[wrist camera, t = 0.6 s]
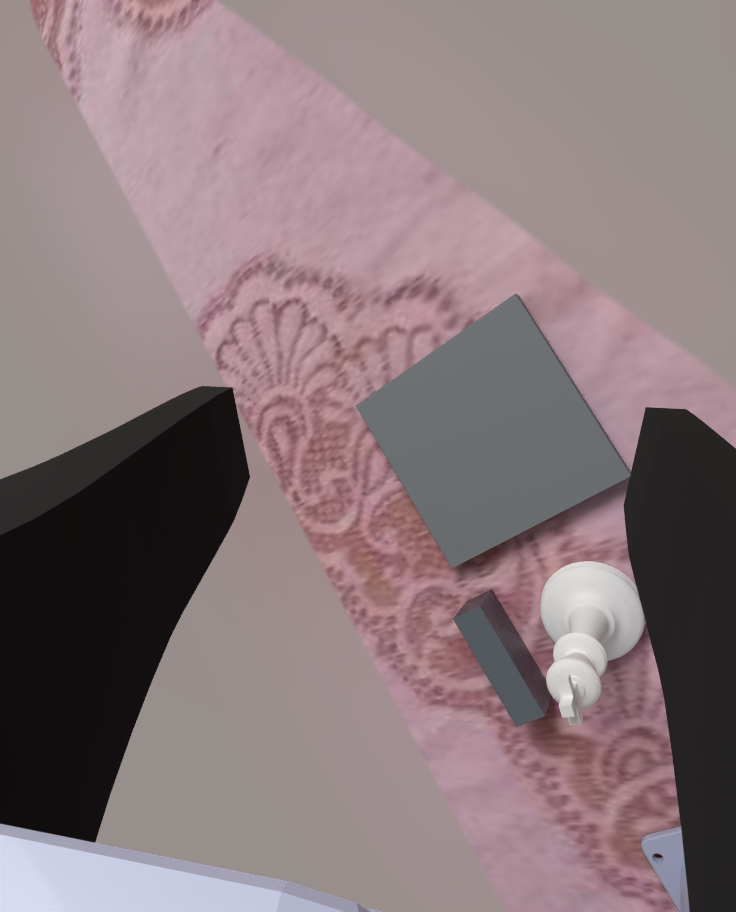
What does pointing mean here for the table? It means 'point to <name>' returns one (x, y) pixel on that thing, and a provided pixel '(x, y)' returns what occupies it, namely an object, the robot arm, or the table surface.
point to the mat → (491, 434)
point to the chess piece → (587, 630)
